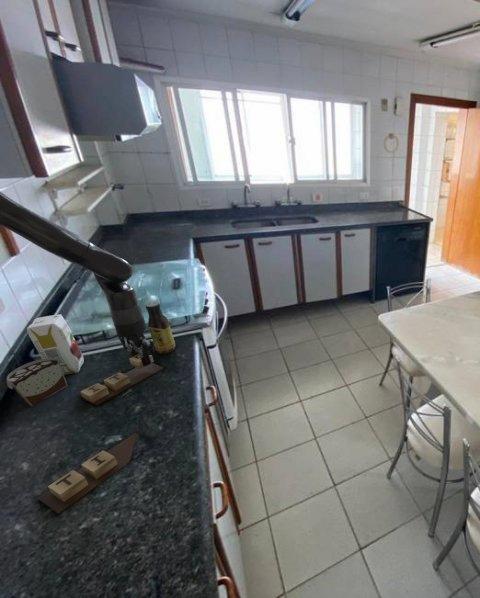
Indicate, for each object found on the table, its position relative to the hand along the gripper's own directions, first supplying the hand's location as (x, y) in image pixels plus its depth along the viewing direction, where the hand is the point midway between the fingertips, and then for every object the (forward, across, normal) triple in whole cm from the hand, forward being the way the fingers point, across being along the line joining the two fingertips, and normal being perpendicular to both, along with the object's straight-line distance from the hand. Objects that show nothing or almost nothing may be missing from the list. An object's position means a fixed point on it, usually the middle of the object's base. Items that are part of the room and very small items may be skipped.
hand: (142, 362), depth 110 cm
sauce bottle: (+4, -6, +12) cm, 14 cm away
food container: (+4, -15, -20) cm, 25 cm away
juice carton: (+4, -22, -10) cm, 25 cm away
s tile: (0, 0, 0) cm, 0 cm away
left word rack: (+4, +28, -28) cm, 40 cm away
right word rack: (+4, 0, -6) cm, 7 cm away
